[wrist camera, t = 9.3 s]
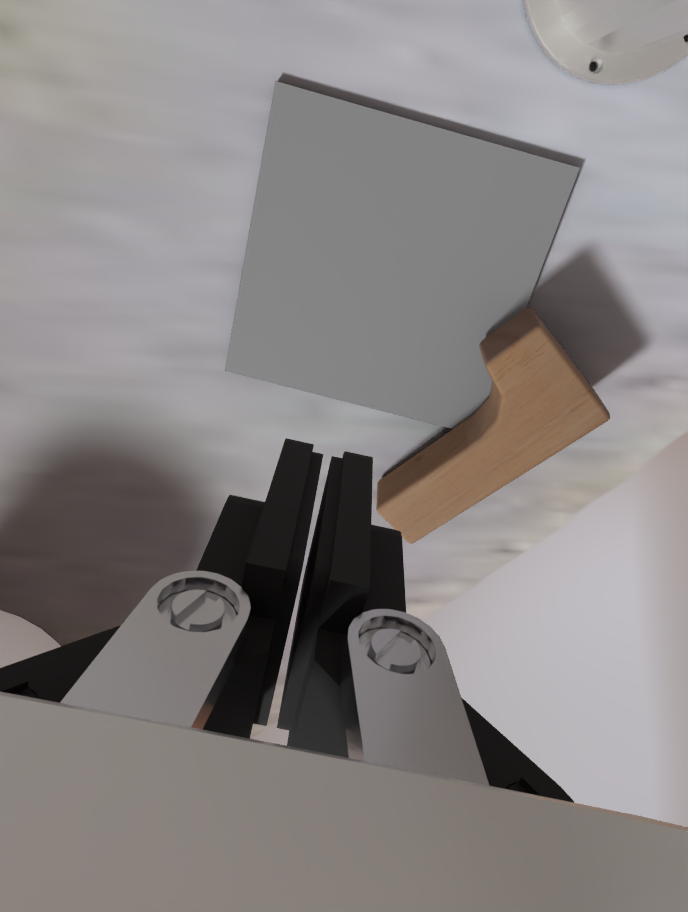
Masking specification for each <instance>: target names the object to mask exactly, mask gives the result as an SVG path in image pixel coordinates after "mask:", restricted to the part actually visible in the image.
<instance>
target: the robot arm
mask: <svg viewBox="0 0 688 912" xmlns="http://www.w3.org/2000/svg"><path fill="white" fill-rule="evenodd" d="M523 2H524V8H525V13H526V16H527V19H528V22H529V24H530V27H531V30H532V32H533V35H534V37H535V38H536V40H537V41H538V43H539V45H540V46H541V48H542V49H543V51H544V52H545V53H546V55H547V56H548V57H549V58H550V59H551V60H552V61H553V62H554V63H555V64H556V65H557V66H558V67H560V68H561V69H563V70H564V71H566V72H568V73H569V74H571V75H572V76H574V77H577V78H579V79H582V80H585V81H588V82H591V83H598V84H607V85H614V84H624V83H632V82H635V81H639V80H644V79H646V78H649V77H651V76H654V75H656V74H659V73H661V72H663V71H665V70H667V69H669V68H670V67H672V66H673V65H675V64H676V63H678V62H680V61H681V60H683V59H684V58H686V57H687V56H688V41H687V42H685V41H684V35H687V34H688V0H523ZM591 62H594V63H595V64H596V69H595V70H594V71H590V69H589V65H590V63H591ZM312 450H313V444H309V443H304V442H300V441H295V440H290V439H285V442H284V445H283V448H282V451H281V455H280V458H279V461H278V464H277V467H276V470H275V473H274V476H273V480H272V483H271V486H270V489H269V492H268V495H267V498H266V501H265V502H261V501H257V500H252V499H247V498H242V497H238V496H233V495H229V497H228V499H227V501H226V503H225V505H224V508H223V510H222V512H221V515H220V517H219V519H218V522H217V524H216V526H215V529H214V531H213V533H212V536H211V538H210V540H209V542H208V545H207V547H206V549H205V552H204V554H203V556H202V559H201V561H200V563H199V566H198V568H197V570H196V571H184V572H179V573H174V574H172V575H169V576H167V577H165V578H163V579H161V580H159V581H158V582H157V583H156V584H155V585H154V586H153V587H151V589H150V590H149V591H148V592H147V594H146V595H145V596H144V597H143V599H142V600H141V601H140V602H139V604H138V605H137V606H136V607H135V609H134V610H133V611H132V612H131V614H130V615H129V616H128V618H127V619H126V620H125V621H124V623H123V624H122V625H121V626H118V627H115V628H112V629H109V630H107V631H104V632H101V633H98V634H95V635H92V636H90V637H87V638H84V639H81V640H78V641H75V642H73V643H70V644H67V645H64V646H61V647H58V648H56V649H53V650H50V651H47V652H44V653H41V654H39V655H36V656H33V657H30V658H27V659H24V660H22V661H19V662H16V663H13V664H10V665H7V666H4V667H2V668H0V912H688V827H683V826H679V825H675V824H671V823H667V822H663V821H658V820H654V819H650V818H646V817H642V816H637V815H632V814H627V813H621V812H617V811H612V810H607V809H602V808H597V807H592V806H587V805H583V804H578V803H574V801H573V800H572V799H571V798H570V797H569V796H568V795H567V794H566V792H565V791H564V790H563V789H562V788H561V787H560V786H559V785H558V784H557V783H556V782H555V781H553V780H552V779H551V778H550V777H549V776H548V775H547V774H546V773H545V772H543V771H542V770H541V769H540V768H539V767H538V766H537V765H536V764H535V763H533V762H532V761H531V760H530V759H529V758H528V757H527V756H526V755H524V754H523V753H522V752H521V751H520V750H519V749H518V748H517V747H516V746H514V745H513V744H512V743H511V742H510V741H509V740H508V739H507V738H506V737H505V736H503V735H502V734H501V733H500V732H499V731H498V730H497V729H496V728H494V727H493V726H492V725H491V724H490V723H489V722H488V721H487V720H486V719H484V718H483V717H482V716H481V715H480V714H479V713H478V712H477V711H476V710H474V709H473V708H472V707H471V706H470V705H469V704H468V703H467V702H466V701H465V700H463V699H462V698H461V695H460V693H459V689H458V686H457V683H456V680H455V677H454V674H453V671H452V667H451V664H450V661H449V658H448V655H447V652H446V649H445V647H444V645H443V643H442V641H441V639H440V637H439V636H438V635H437V634H436V632H435V631H434V630H433V629H432V628H431V627H430V626H428V625H427V624H426V623H424V622H423V621H421V620H420V619H418V618H417V617H414V616H412V615H410V614H407V613H406V603H405V585H404V567H403V549H402V535H401V532H400V531H398V530H393V529H389V528H384V527H379V526H375V525H371V509H372V466H373V458H372V457H369V456H364V455H359V454H355V453H350V452H346V451H345V452H344V454H343V458H338V457H333V456H332V458H331V462H330V466H329V471H328V475H327V479H326V483H325V488H324V492H323V496H322V501H321V505H320V509H319V514H318V518H317V522H316V527H315V531H314V535H313V539H312V544H311V548H310V552H309V557H308V561H307V565H306V570H305V574H304V579H303V584H302V589H301V595H300V600H299V606H298V612H297V617H296V623H295V629H294V634H293V640H292V645H291V651H290V657H289V662H288V668H287V674H286V679H285V685H284V691H283V696H282V702H281V708H280V713H279V719H278V725H277V728H280V729H285V730H290V731H289V737H288V744H287V746H285V745H280V744H274V743H269V742H264V741H259V740H254V739H250V734H251V730H252V725H253V723H254V724H259V725H264V726H266V725H267V721H268V717H269V712H270V708H271V704H272V699H273V695H274V691H275V686H276V682H277V678H278V673H279V669H280V665H281V660H282V656H283V651H284V647H285V643H286V638H287V634H288V630H289V625H290V621H291V617H292V612H293V608H294V604H295V599H296V595H297V590H298V586H299V581H300V577H301V572H302V567H303V562H304V556H305V551H306V545H307V540H308V534H309V529H310V523H311V518H312V512H313V507H314V502H315V496H316V491H317V485H318V480H319V474H320V469H321V463H322V458H323V454H319V453H315V452H312Z"/></svg>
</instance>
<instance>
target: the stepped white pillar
mask: <svg viewBox="0 0 688 912" xmlns="http://www.w3.org/2000/svg"><path fill="white" fill-rule="evenodd" d="M58 647H61V646H60V645H59V644H58V642H56V641H55V640H54V639H53V638H52V637H50V636H49V635H48V634H47V633H46V632H44V631H43V630H42V629H41V628H39V627H37V626H35V625H34V624H32V623H30V622H28V621H27V620H25V619H23V618H21V617H19V616H16V615H13V614H10V613H7V612H4V611H1V610H0V668H2V667H4V666H7V665H10V664H13V663H16V662H19V661H22V660H24V659H27V658H30V657H33V656H36V655H39V654H41V653H44V652H47V651H50V650H53V649H56V648H58Z"/></svg>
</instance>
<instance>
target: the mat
mask: <svg viewBox="0 0 688 912" xmlns="http://www.w3.org/2000/svg"><path fill="white" fill-rule="evenodd" d="M579 169H580V168H578V167H575V166H571V165H568V164H564V163H561V162H557V161H554V160H550V159H547V158H543V157H540V156H536V155H533V154H529V153H526V152H522V151H519V150H515V149H512V148H508V147H505V146H501V145H498V144H494V143H491V142H487V141H484V140H480V139H477V138H473V137H470V136H466V135H463V134H459V133H456V132H452V131H449V130H445V129H442V128H438V127H435V126H431V125H428V124H424V123H421V122H417V121H414V120H410V119H407V118H403V117H400V116H396V115H393V114H389V113H386V112H382V111H379V110H375V109H372V108H368V107H365V106H361V105H358V104H354V103H351V102H347V101H344V100H340V99H337V98H333V97H330V96H326V95H323V94H319V93H316V92H312V91H309V90H305V89H302V88H298V87H295V86H291V85H288V84H284V83H281V82H277V81H275V87H274V93H273V98H272V104H271V110H270V115H269V121H268V127H267V133H266V138H265V144H264V150H263V156H262V161H261V167H260V173H259V178H258V184H257V190H256V196H255V201H254V207H253V213H252V219H251V224H250V230H249V236H248V241H247V247H246V253H245V259H244V264H243V270H242V276H241V281H240V287H239V293H238V299H237V304H236V310H235V316H234V322H233V327H232V333H231V339H230V344H229V350H228V356H227V362H226V367H225V371H228V372H232V373H235V374H239V375H243V376H247V377H251V378H255V379H259V380H263V381H267V382H271V383H275V384H278V385H282V386H286V387H290V388H294V389H298V390H302V391H306V392H310V393H314V394H318V395H321V396H325V397H329V398H333V399H337V400H341V401H345V402H349V403H353V404H357V405H361V406H365V407H368V408H372V409H376V410H380V411H384V412H388V413H392V414H396V415H400V416H404V417H408V418H411V419H415V420H419V421H423V422H427V423H431V424H435V425H439V426H443V427H447V428H451V429H454V428H455V427H457V426H458V425H460V424H461V423H463V422H464V421H465V420H467V419H468V418H470V417H471V416H473V415H474V414H475V413H476V412H477V410H478V409H479V408H480V407H481V406H482V405H483V404H484V402H485V401H486V400H487V399H488V398H489V395H490V390H491V384H492V379H491V377H490V375H489V373H488V371H487V369H486V367H485V364H484V361H483V358H482V355H481V351H480V347H479V344H480V343H481V341H482V340H484V339H485V338H486V337H488V336H489V335H490V334H492V333H493V332H494V331H496V330H497V329H498V328H500V327H501V326H502V325H504V324H505V323H507V322H508V321H509V320H511V319H512V318H513V317H515V316H516V315H517V314H519V313H520V312H521V311H523V310H524V309H526V307H527V305H528V302H529V300H530V297H531V294H532V292H533V289H534V287H535V284H536V281H537V279H538V276H539V274H540V271H541V268H542V266H543V263H544V261H545V258H546V255H547V253H548V250H549V248H550V245H551V242H552V240H553V237H554V234H555V232H556V229H557V227H558V224H559V221H560V219H561V216H562V214H563V211H564V208H565V206H566V203H567V201H568V198H569V195H570V193H571V190H572V188H573V185H574V182H575V180H576V177H577V174H578V172H579Z"/></svg>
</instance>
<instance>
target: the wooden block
mask: <svg viewBox="0 0 688 912" xmlns="http://www.w3.org/2000/svg"><path fill="white" fill-rule="evenodd" d="M479 347H480V351H481V355H482V358H483V361H484V364H485V367H486V369H487V371H488V373H489V375H490V377H491V379H492V384H491V390H490V395H489V398H488V399H487V400H486V401H485V402H484V404H483V405H482V406H481V407H480V408H479V409H478V410H477V412H476V413H475V414H474V415H473V416H471V417H470V418H468V419H467V420H465V421H464V422H463V423H461V424H460V425H458V426H457V427H455V428H454V429H452V430H451V431H450V432H448V433H447V434H445V435H444V436H442V437H441V438H440V439H438V440H437V441H435V442H434V443H432V444H431V445H429V446H428V447H427V448H425V449H424V450H422V451H421V452H419V453H418V454H417V455H415V456H414V457H412V458H411V459H409V460H408V461H406V462H405V463H404V464H402V465H401V466H399V467H398V468H396V469H395V470H394V471H392V472H391V473H389V474H388V475H386V476H385V477H383V478H382V479H381V480H379V482H378V486H377V508H376V509H377V511H378V513H379V514H380V515H381V516H382V517H383V518H384V519H385V520H386V521H387V522H388V523H389V524H390V525H391V526H392V527H393V528H394V529H395V530H398V531H400V532H401V535H402V537H403V538H404V539H405V540H406V541H407V542H408V543H410V544H412V543H414V542H416V541H418V540H419V539H421V538H422V537H424V536H426V535H427V534H429V533H430V532H432V531H433V530H435V529H437V528H438V527H440V526H441V525H443V524H445V523H446V522H448V521H449V520H451V519H453V518H454V517H456V516H457V515H459V514H460V513H462V512H464V511H465V510H467V509H468V508H470V507H472V506H473V505H475V504H476V503H478V502H479V501H481V500H483V499H484V498H486V497H487V496H489V495H491V494H492V493H494V492H495V491H497V490H499V489H500V488H502V487H503V486H505V485H506V484H508V483H510V482H511V481H513V480H514V479H516V478H518V477H519V476H521V475H522V474H524V473H526V472H527V471H529V470H530V469H532V468H534V467H535V466H537V465H538V464H540V463H542V462H543V461H545V460H546V459H548V458H549V457H551V456H553V455H554V454H556V453H557V452H559V451H561V450H562V449H564V448H565V447H567V446H569V445H570V444H572V443H573V442H575V441H576V440H578V439H580V438H581V437H583V436H584V435H586V434H587V433H589V432H591V431H592V430H594V429H595V428H597V427H599V426H600V425H602V424H603V423H605V422H606V421H608V420H609V419H610V414H609V412H608V410H607V409H606V407H605V406H604V404H603V403H602V401H601V400H600V398H599V396H598V395H597V393H596V392H595V390H594V389H593V388H592V386H591V385H590V384H589V382H588V381H587V380H586V378H585V377H584V376H583V375H582V373H581V372H580V371H579V369H578V368H577V367H576V365H575V364H574V363H573V361H572V360H571V359H570V357H569V356H568V355H567V353H566V352H565V351H564V349H563V348H562V347H561V345H560V344H559V343H558V341H557V340H556V339H555V337H554V336H553V335H552V333H551V332H550V331H549V329H548V328H547V327H546V325H545V324H544V323H543V321H542V320H541V319H540V317H539V316H538V315H537V313H536V312H535V311H534V309H532V308H530V307H528V308H526V309H524V310H523V311H521V312H520V313H519V314H517V315H516V316H515V317H513V318H512V319H511V320H509V321H508V322H507V323H505V324H504V325H502V326H501V327H500V328H498V329H497V330H496V331H494V332H493V333H492V334H490V335H489V336H488V337H486V338H485V339H484V340H482V341H481V343H480V344H479Z"/></svg>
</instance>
